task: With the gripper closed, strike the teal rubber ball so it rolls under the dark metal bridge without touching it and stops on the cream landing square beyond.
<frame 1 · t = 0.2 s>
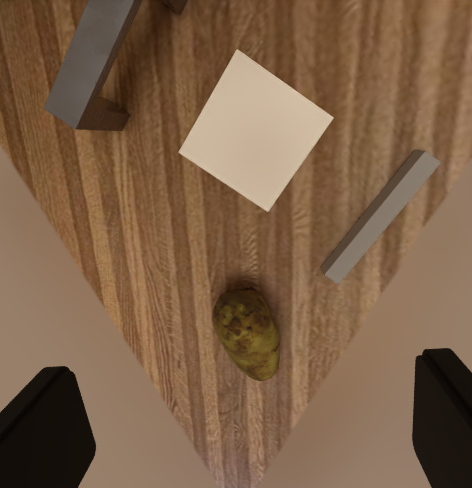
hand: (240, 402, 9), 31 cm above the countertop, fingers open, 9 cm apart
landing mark: (253, 135, 37), on the countertop
bridge: (141, 59, 35), on the countertop
potato: (249, 319, 44), on the countertop
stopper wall: (372, 216, 38), on the countertop
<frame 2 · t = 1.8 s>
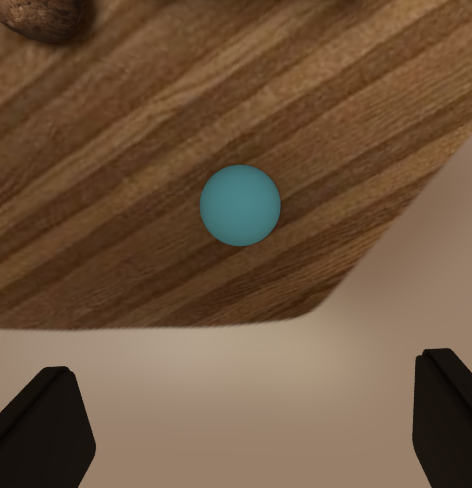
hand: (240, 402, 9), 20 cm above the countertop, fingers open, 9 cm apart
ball: (240, 205, 25), on the countertop
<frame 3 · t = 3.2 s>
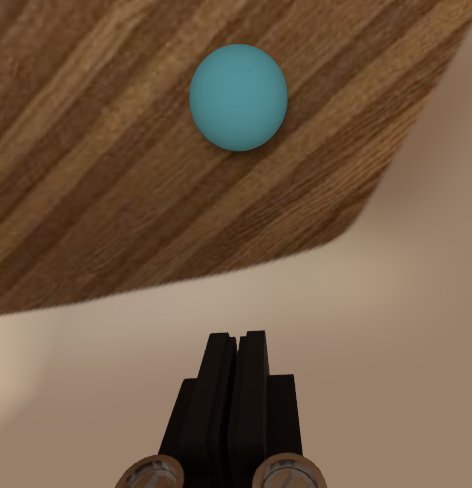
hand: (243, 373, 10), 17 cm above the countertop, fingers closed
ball: (238, 100, 21), on the countertop
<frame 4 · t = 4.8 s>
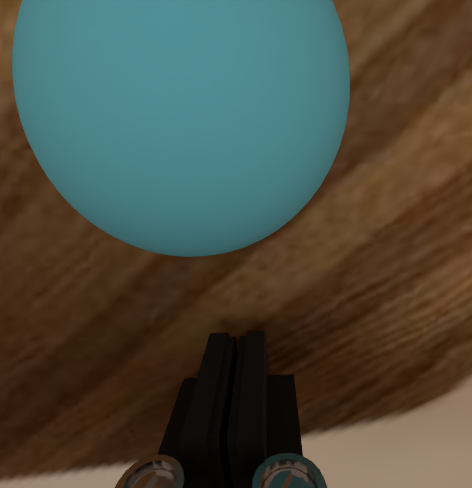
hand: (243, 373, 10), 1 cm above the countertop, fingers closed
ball: (191, 106, 7), on the countertop
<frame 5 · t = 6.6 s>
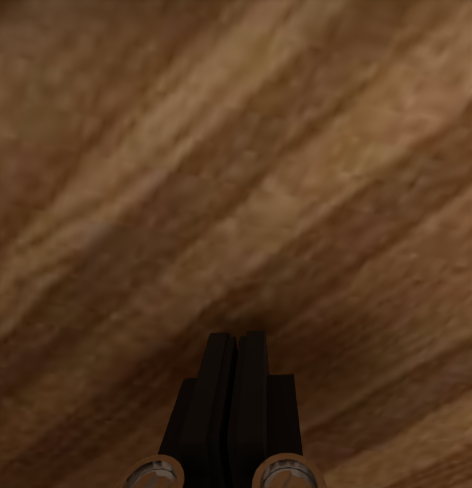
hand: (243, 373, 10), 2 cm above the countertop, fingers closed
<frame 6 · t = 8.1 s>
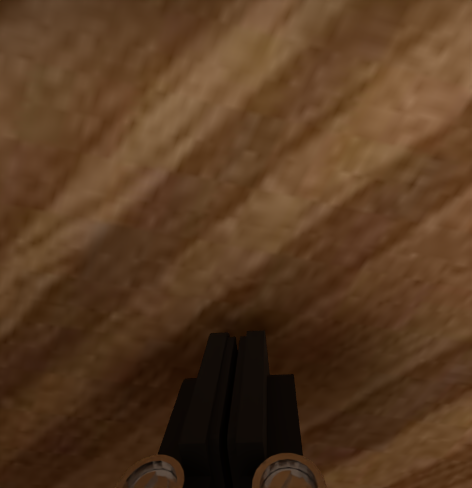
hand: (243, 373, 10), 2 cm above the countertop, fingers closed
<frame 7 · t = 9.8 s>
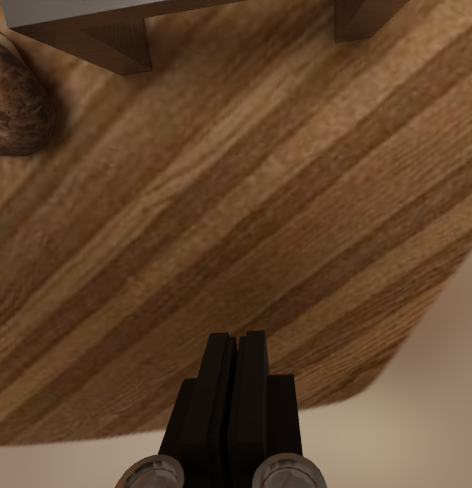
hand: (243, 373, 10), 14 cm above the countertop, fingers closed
brown rounded lump: (17, 100, 23), on the countertop
bridge: (237, 28, 20), on the countertop
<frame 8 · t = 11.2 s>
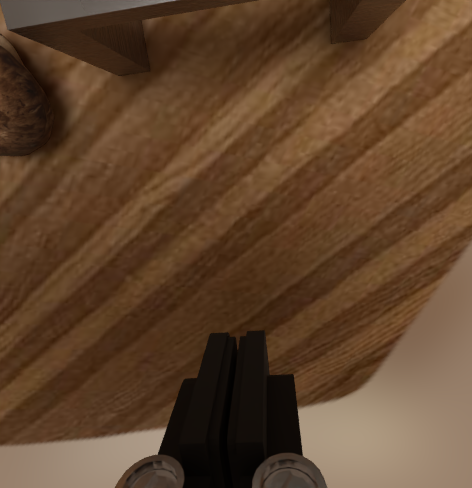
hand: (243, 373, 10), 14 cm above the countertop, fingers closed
brown rounded lump: (16, 100, 23), on the countertop
bridge: (234, 29, 20), on the countertop
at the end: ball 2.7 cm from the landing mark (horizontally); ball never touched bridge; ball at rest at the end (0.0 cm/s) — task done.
